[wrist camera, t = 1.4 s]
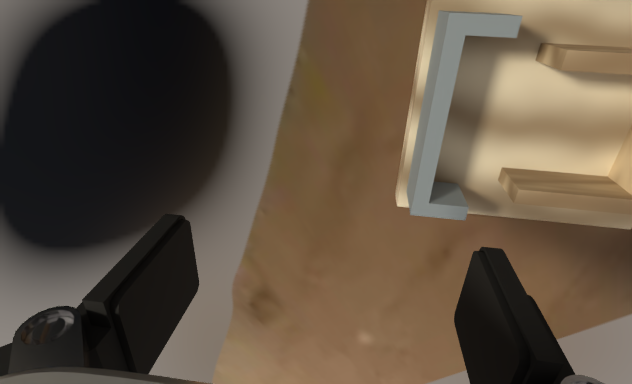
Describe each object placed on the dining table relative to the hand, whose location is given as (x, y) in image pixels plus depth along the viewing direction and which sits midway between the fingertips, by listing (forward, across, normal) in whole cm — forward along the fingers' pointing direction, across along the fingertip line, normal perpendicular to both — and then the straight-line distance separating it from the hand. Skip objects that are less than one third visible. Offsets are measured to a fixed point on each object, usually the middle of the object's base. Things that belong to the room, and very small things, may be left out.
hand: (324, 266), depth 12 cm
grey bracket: (+20, -8, 0) cm, 21 cm away
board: (+23, -15, 0) cm, 27 cm away
